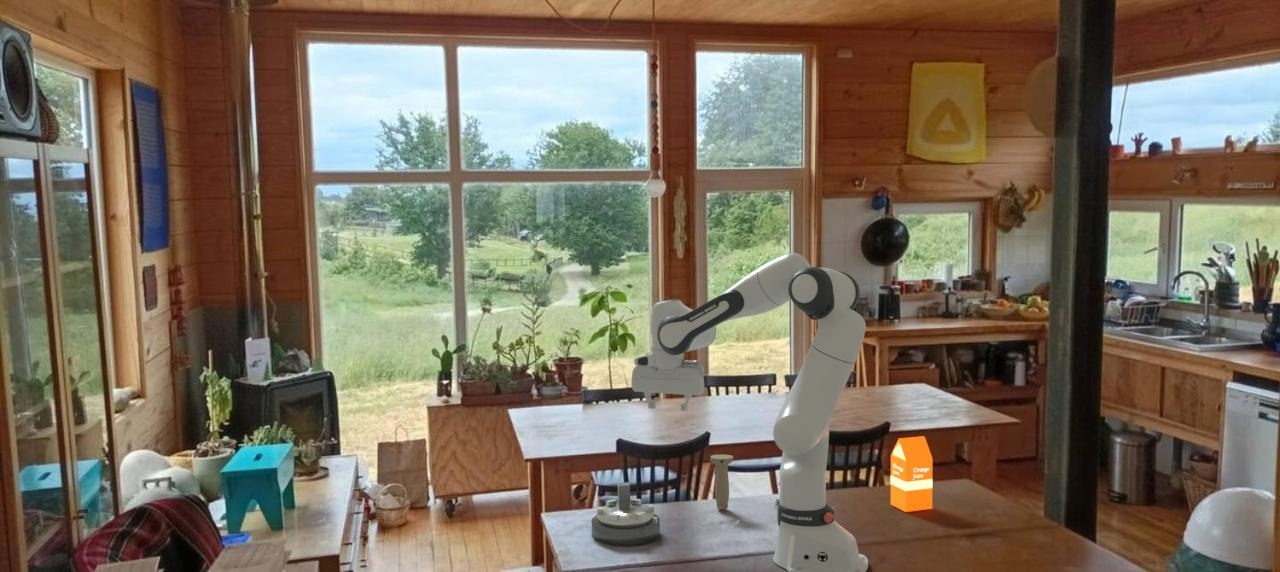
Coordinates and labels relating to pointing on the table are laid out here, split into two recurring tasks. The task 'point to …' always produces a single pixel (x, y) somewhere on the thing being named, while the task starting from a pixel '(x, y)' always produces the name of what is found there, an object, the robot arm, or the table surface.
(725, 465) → the handle
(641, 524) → the round clock
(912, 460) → the orange juice
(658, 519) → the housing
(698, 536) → the table surface
